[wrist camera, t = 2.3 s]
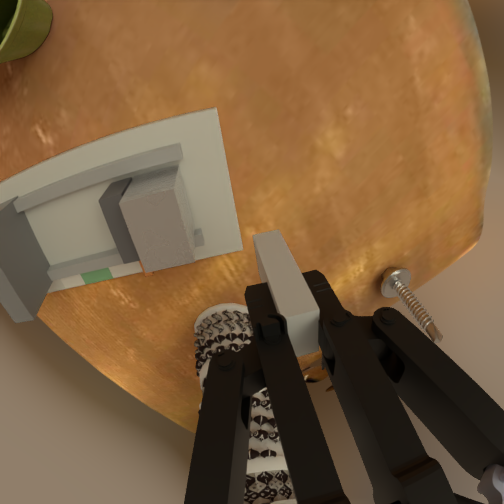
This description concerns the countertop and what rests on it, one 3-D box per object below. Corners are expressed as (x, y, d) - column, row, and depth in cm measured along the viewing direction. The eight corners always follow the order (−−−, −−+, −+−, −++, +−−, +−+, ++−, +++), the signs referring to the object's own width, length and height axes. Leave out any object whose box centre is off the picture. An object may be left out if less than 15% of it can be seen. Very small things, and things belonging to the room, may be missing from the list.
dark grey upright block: (111, 182, 23) (98, 200, 20) (131, 176, 24) (121, 193, 20) (142, 265, 29) (136, 291, 25) (160, 261, 29) (157, 287, 25)
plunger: (134, 175, 24) (118, 203, 19) (178, 164, 24) (173, 188, 19) (153, 234, 27) (145, 272, 22) (194, 225, 27) (195, 261, 22)
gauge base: (0, 182, 22) (-45, 219, 15) (215, 106, 23) (223, 118, 16) (49, 285, 30) (25, 336, 23) (241, 242, 31) (255, 295, 24)
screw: (368, 280, 38) (392, 254, 36) (385, 292, 40) (408, 269, 38) (417, 352, 27) (450, 321, 25) (431, 359, 29) (460, 332, 27)
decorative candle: (178, 335, 37) (190, 529, 17) (216, 289, 34) (253, 520, 13) (234, 355, 41) (268, 524, 21) (275, 315, 38) (336, 505, 17)
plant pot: (19, 93, 18) (-36, 107, 11) (-19, 43, 13) (-73, 47, 6) (86, 18, 16) (42, -1, 9) (41, -28, 11) (-4, -49, 4)
